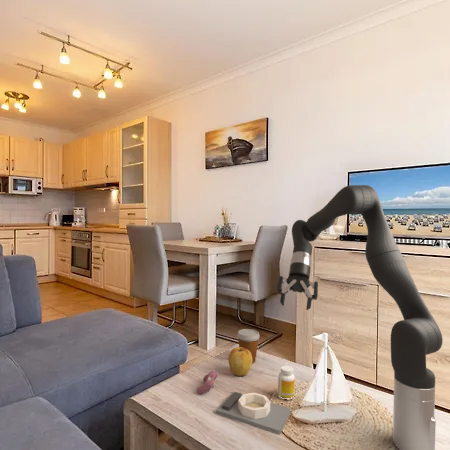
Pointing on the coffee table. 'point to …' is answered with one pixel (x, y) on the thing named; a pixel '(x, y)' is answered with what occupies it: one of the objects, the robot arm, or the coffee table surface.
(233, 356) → the apple
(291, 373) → the supplement bottle
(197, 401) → the coffee table surface
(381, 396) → the coffee table surface
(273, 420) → the board
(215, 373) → the pink toy shoe
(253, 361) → the disposable coffee cup
